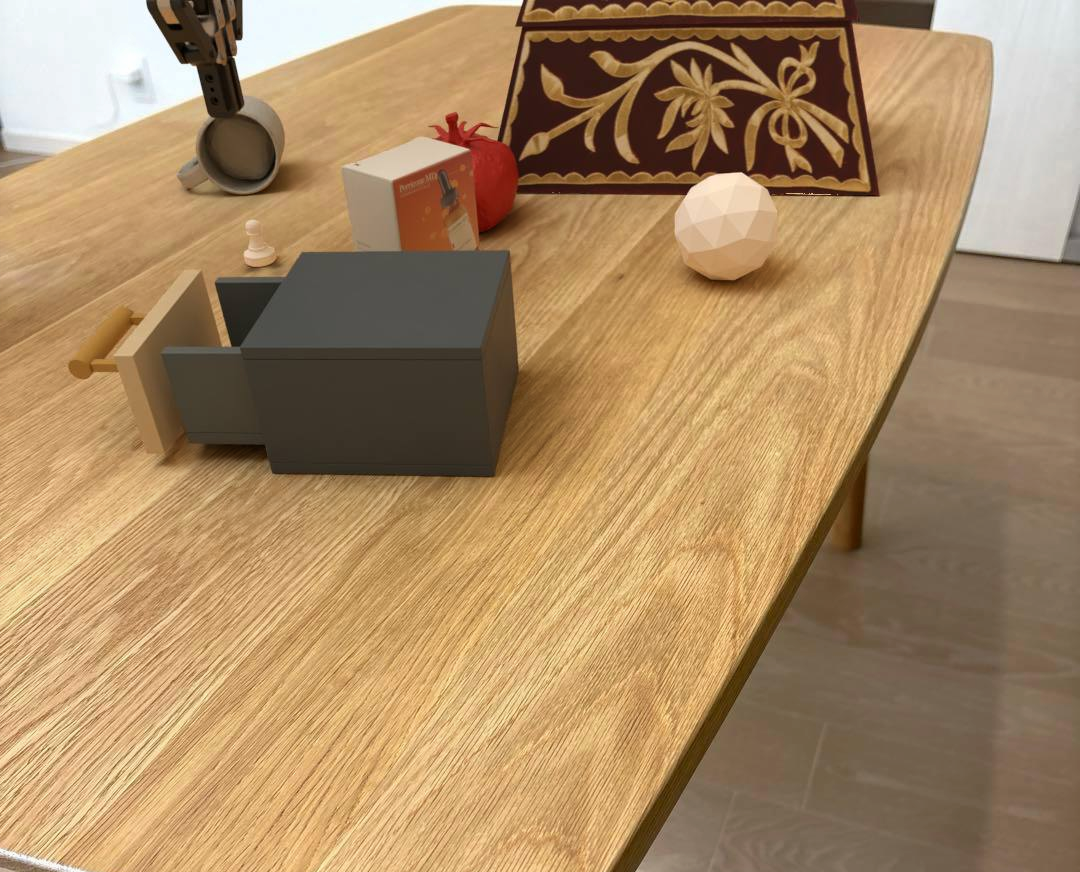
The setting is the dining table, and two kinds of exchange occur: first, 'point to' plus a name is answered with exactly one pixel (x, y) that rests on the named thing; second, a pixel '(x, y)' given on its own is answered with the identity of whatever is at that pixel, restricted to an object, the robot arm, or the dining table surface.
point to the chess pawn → (257, 247)
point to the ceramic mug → (238, 150)
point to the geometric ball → (726, 226)
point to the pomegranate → (485, 170)
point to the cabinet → (386, 363)
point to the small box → (413, 198)
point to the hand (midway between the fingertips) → (227, 112)
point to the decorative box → (688, 96)
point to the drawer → (185, 361)
